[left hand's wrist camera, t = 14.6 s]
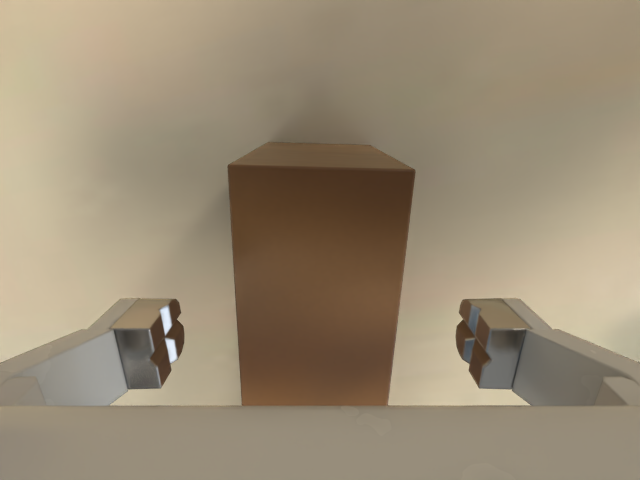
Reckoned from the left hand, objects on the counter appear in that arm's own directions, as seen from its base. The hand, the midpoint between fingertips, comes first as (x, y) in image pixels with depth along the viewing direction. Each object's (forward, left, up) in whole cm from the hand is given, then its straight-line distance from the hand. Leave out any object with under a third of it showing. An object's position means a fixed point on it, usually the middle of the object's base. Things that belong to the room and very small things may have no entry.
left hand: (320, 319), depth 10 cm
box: (+9, +2, -13) cm, 16 cm away
